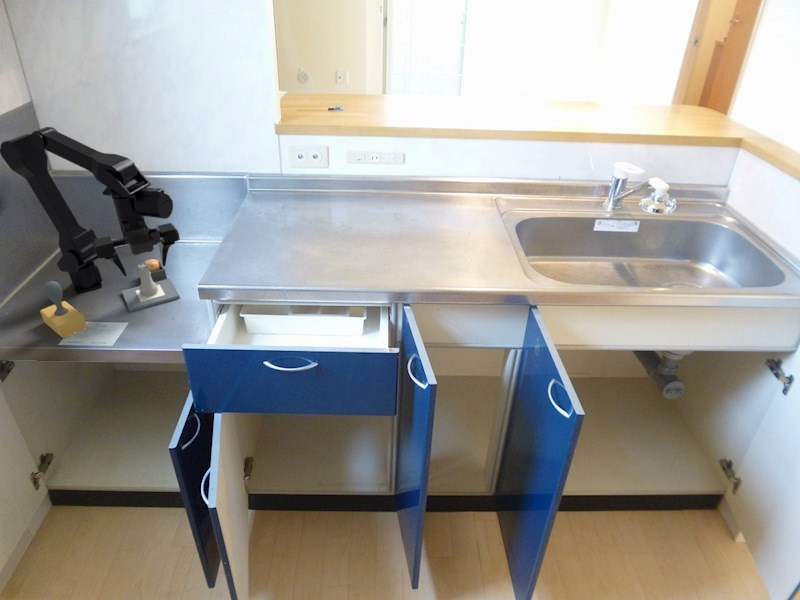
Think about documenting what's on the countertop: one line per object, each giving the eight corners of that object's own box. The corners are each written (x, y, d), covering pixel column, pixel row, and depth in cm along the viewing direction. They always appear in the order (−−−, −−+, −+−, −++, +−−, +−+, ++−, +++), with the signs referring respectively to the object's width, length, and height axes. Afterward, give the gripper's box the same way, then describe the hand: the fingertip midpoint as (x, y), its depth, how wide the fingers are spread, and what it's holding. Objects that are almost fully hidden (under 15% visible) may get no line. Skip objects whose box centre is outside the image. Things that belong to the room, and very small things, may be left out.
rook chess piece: (140, 298, 142) (133, 270, 138) (139, 290, 145) (132, 262, 141) (159, 294, 144) (153, 267, 139) (158, 286, 147) (151, 259, 143)
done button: (147, 274, 149) (145, 266, 148) (144, 269, 152) (142, 261, 150) (161, 271, 151) (159, 263, 150) (158, 265, 153) (156, 257, 152)
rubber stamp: (88, 328, 133) (73, 284, 126) (62, 339, 129) (46, 294, 122) (69, 312, 138) (53, 269, 132) (44, 322, 134) (27, 279, 128)
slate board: (130, 311, 139) (129, 308, 138) (122, 293, 146) (121, 290, 145) (180, 298, 144) (179, 295, 144) (169, 281, 151) (169, 278, 151)
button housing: (146, 284, 150) (144, 274, 148) (142, 275, 153) (139, 266, 152) (167, 279, 152) (164, 269, 150) (162, 271, 156) (159, 261, 154)
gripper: (91, 234, 122) (110, 295, 131) (179, 216, 131) (191, 274, 139) (84, 216, 130) (102, 275, 139) (167, 200, 139) (179, 256, 147)
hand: (144, 270), depth 141 cm, fingers open, 9 cm apart
